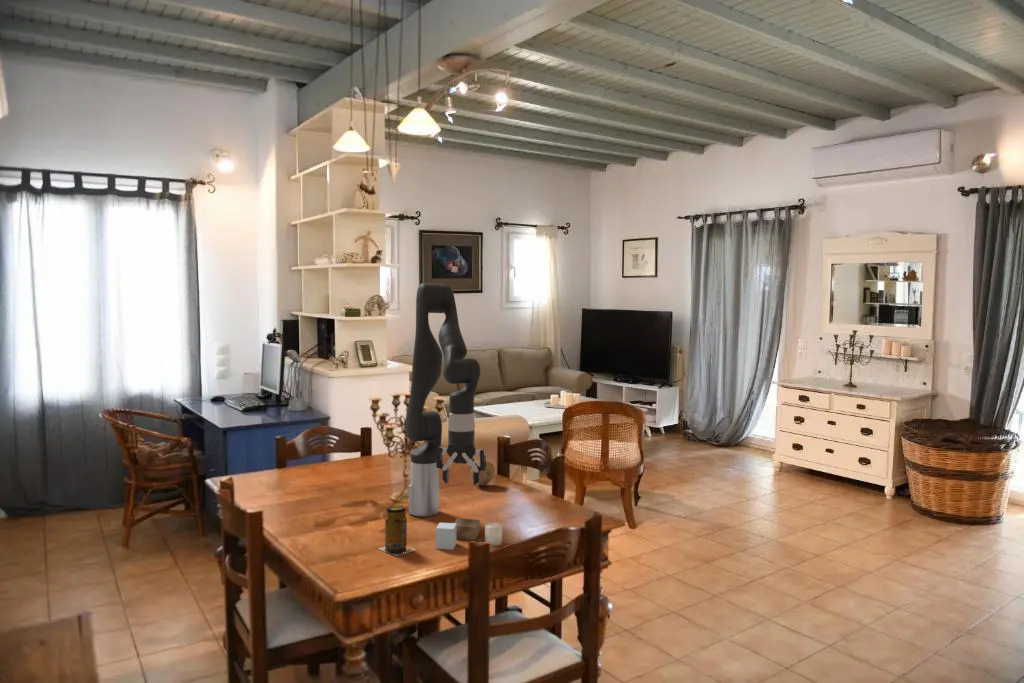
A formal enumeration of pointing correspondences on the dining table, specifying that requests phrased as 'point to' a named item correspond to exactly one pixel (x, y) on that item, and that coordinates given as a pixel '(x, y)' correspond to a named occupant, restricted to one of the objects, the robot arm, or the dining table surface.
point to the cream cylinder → (493, 533)
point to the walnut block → (467, 528)
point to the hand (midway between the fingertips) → (461, 483)
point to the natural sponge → (485, 473)
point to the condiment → (396, 531)
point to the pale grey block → (446, 535)
